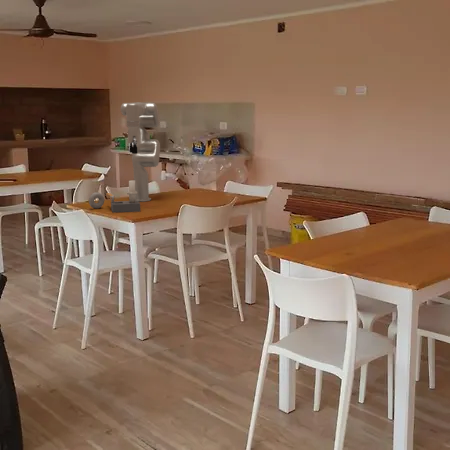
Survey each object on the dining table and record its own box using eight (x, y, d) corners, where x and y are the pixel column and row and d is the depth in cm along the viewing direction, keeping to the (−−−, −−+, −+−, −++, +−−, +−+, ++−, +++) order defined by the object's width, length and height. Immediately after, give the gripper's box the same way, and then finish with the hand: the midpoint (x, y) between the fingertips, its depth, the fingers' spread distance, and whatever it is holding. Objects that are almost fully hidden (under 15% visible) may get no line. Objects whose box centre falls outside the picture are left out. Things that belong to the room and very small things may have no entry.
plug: (126, 201, 369) (126, 180, 366) (136, 201, 370) (136, 179, 368) (127, 203, 363) (127, 181, 361) (138, 202, 365) (137, 181, 362)
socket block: (111, 209, 370) (110, 199, 368) (137, 208, 374) (137, 198, 373) (113, 212, 359) (112, 201, 358) (140, 211, 364) (140, 200, 362)
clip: (111, 199, 365) (110, 196, 364) (106, 196, 378) (105, 193, 378) (115, 199, 366) (114, 196, 365) (109, 196, 379) (109, 192, 379)
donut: (90, 209, 368) (89, 193, 366) (88, 208, 371) (87, 192, 369) (105, 208, 374) (105, 191, 372) (103, 207, 377) (102, 191, 375)
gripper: (124, 123, 376) (125, 151, 379) (128, 124, 360) (129, 154, 363) (137, 123, 378) (137, 151, 381) (141, 124, 362) (141, 154, 365)
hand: (133, 152), depth 372 cm, fingers open, 9 cm apart
